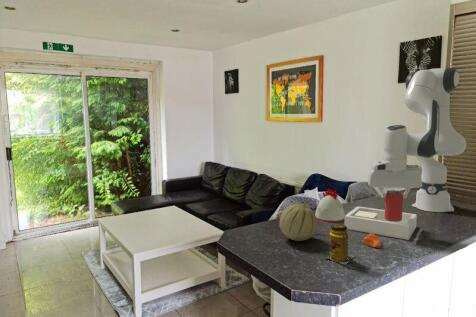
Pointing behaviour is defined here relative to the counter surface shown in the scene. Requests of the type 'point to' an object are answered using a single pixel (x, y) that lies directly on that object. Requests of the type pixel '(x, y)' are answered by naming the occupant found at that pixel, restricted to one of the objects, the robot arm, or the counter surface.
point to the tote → (381, 223)
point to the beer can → (393, 206)
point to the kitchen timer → (330, 208)
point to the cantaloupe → (298, 222)
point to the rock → (372, 241)
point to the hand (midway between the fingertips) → (393, 197)
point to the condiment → (339, 244)
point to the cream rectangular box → (367, 215)
